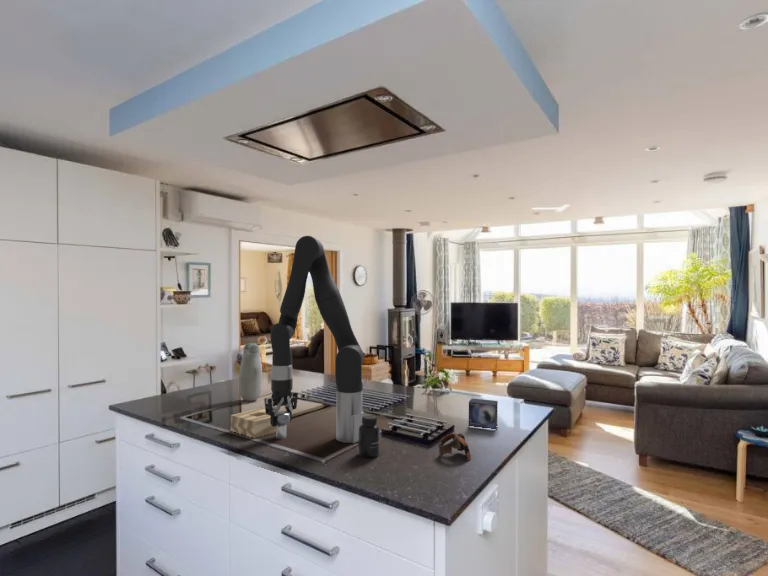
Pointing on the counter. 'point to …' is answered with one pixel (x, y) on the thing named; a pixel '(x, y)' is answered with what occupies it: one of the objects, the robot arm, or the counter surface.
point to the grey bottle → (251, 373)
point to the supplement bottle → (369, 437)
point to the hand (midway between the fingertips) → (281, 423)
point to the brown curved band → (454, 444)
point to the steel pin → (282, 423)
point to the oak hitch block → (252, 423)
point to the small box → (483, 413)
